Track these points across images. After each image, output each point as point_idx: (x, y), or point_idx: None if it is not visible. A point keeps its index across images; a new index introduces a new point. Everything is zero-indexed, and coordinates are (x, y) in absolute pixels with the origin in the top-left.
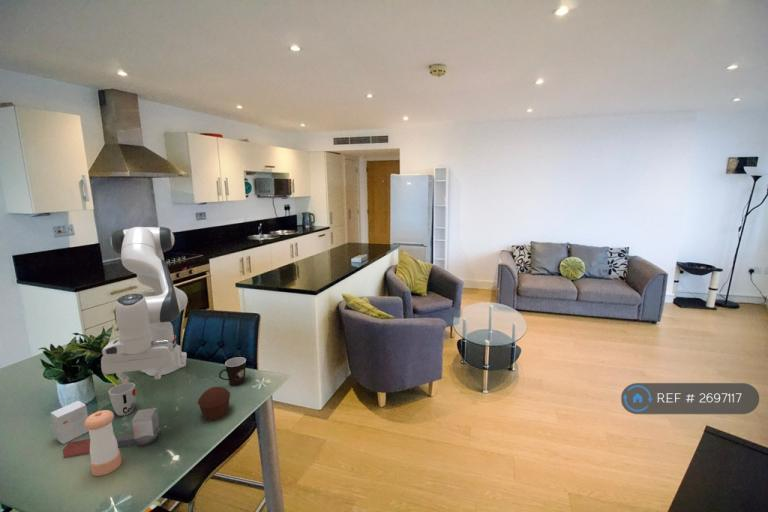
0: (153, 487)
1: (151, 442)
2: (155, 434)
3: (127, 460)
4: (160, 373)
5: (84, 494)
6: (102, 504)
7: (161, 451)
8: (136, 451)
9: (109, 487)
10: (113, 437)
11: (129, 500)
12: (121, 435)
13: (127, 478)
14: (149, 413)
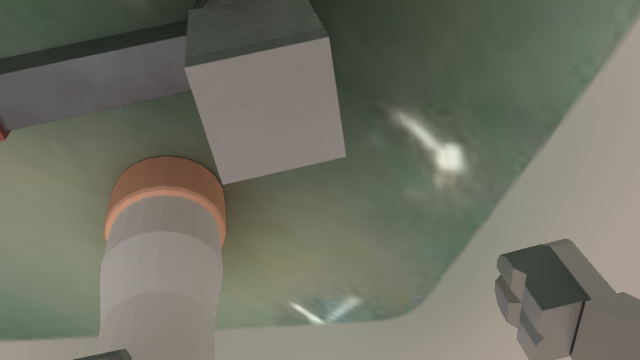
0: (413, 273)
1: None
2: None
3: None
4: (602, 287)
5: None
6: (284, 323)
7: (371, 124)
8: None
9: (261, 278)
10: (214, 301)
11: (360, 310)
12: (93, 57)
13: (302, 247)
14: (308, 113)
